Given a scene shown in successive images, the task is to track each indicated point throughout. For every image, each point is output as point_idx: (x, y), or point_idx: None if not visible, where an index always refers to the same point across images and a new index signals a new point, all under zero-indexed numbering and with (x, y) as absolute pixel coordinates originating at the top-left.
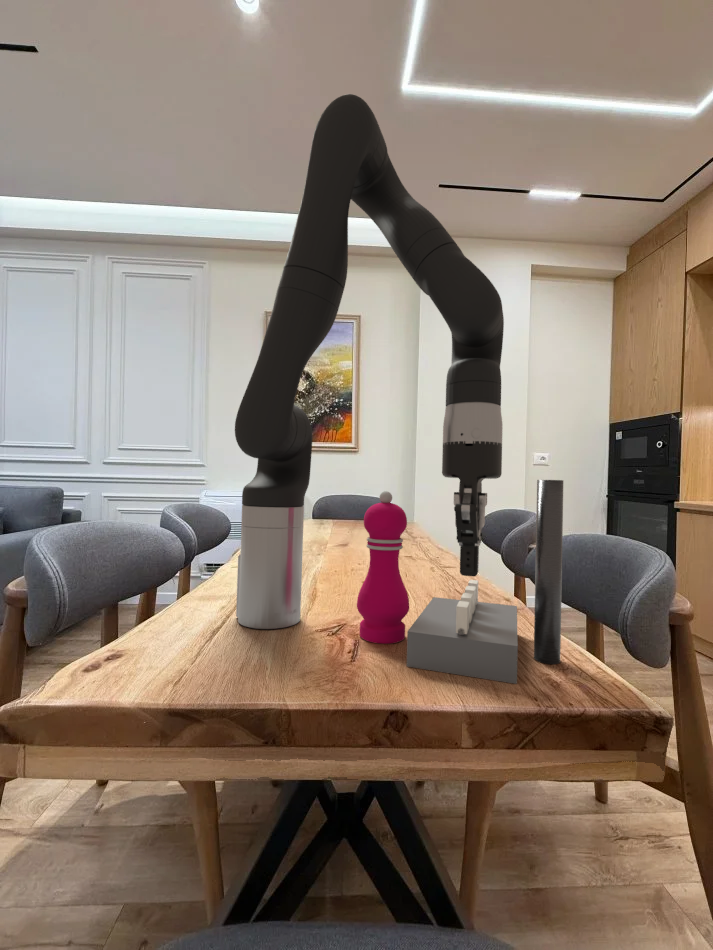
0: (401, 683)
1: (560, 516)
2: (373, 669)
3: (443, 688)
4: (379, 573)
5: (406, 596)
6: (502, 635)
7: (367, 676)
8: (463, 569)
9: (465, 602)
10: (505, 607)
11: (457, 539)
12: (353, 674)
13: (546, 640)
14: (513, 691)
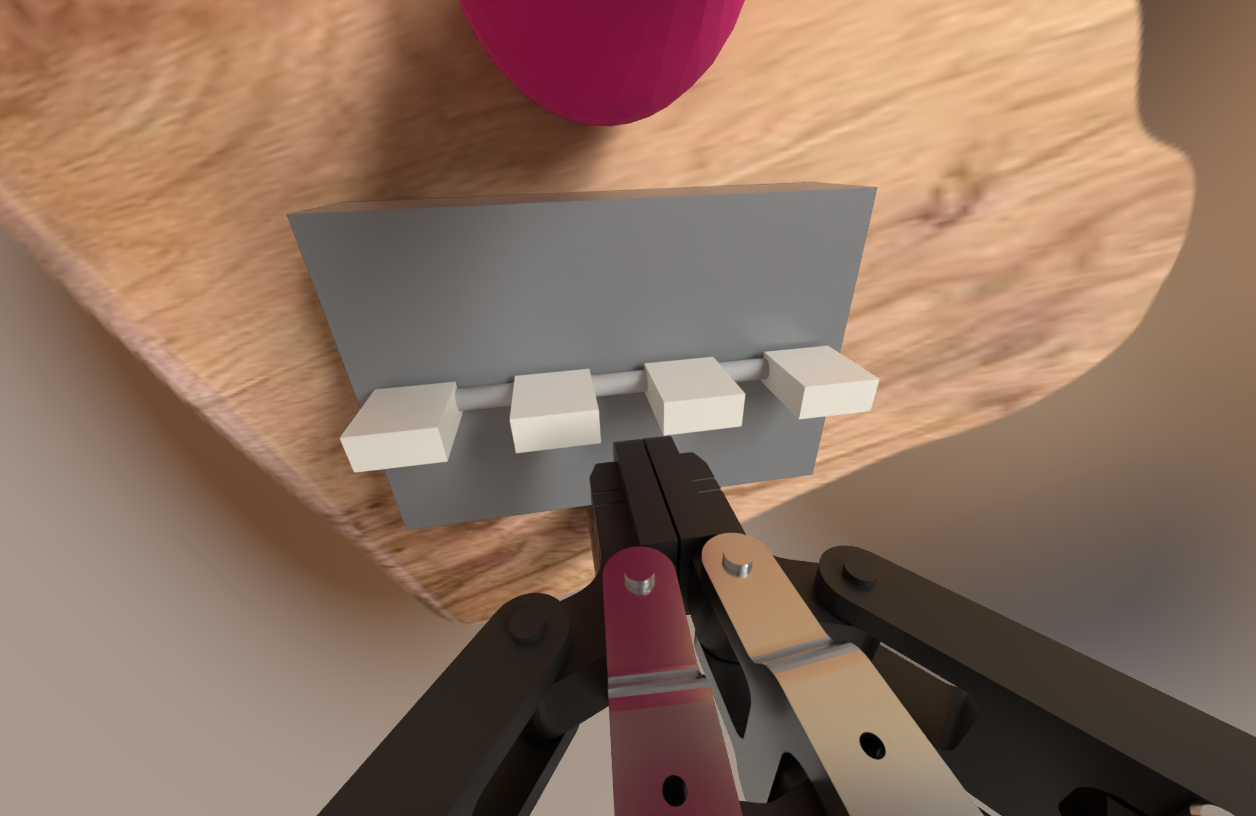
0: (206, 224)
1: None
2: (228, 89)
3: (275, 340)
4: None
5: (605, 107)
6: (474, 490)
7: (152, 88)
8: (592, 475)
9: (429, 451)
10: (785, 451)
11: (487, 624)
12: (118, 20)
13: (591, 538)
14: (383, 470)
